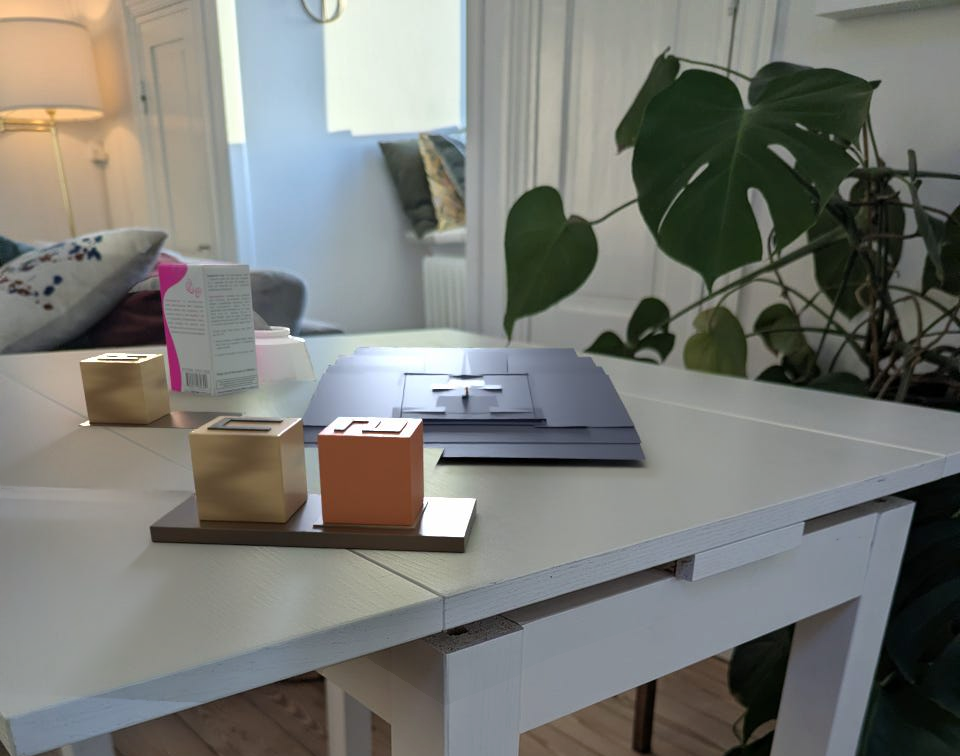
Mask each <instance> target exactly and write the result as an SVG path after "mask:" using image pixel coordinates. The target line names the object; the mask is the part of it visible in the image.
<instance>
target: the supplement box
mask: <svg viewBox="0 0 960 756" xmlns="http://www.w3.org/2000/svg"><path fill="white" fill-rule="evenodd" d="M250 271H251V270H250V264H248V263H247V264H246V263H218V262H217V263H213V262H212V263H211V262H209V263H208V262H206V263H205V262H204V263H203V262H202V263H201V262H200V263H158V264H157V273H158V276H159V283H160V290H159V291H160V298H161V308H162V319H163V326H164V334H165V343H166V353H167V362H168V371H169V380H170V390H171V391H175V392H180V393H181V392H182V393H189V394H196V395H203V396H212V397H218V396H223V395H227V394H228V395H229V394H233V393H238V392H239V393H240V392H243V391H244V392H245V391H250V390H254V389H255V390H256V389H259V388H260V381H258V369H257V356H256V344H255V332H254V319H253V311H254V306H253V297H252V296H253V295H252V286H251V285H252V283H251V273H250Z"/></svg>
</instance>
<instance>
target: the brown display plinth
mask: <svg viewBox="0 0 960 756" xmlns="http://www.w3.org/2000/svg"><path fill="white" fill-rule="evenodd" d="M302 419H303V417H277V416H276V417H271V416H240V417H239V416H219V417H217V418H215V419H214V420H212V421H210V422H208V423H207V424H205V425H203V426H201V427H200V428H198V429H193V430H192V431H191V432H189V433H188V440H189V451H190V457H191V467H192V474H193V483H194V484H193V485H194V493H193V494H191V495H190V496H189V497H188V498H186V499H185V500H183V501H182V502H180V503H179V504H178V505H176V506H175V507H174V508H173V509H171V510H170V511H168V512H167V513H166V514H165V515H163V516H162V517H160V518H159V519H157V521H155V522H153V523H152V524H151V525H149V533H150V540H151V542H166V543H190V544H191V543H192V544H217V545H218V544H219V545H220V544H221V545H246V544H248V545H247V546H249V545H250V546H251V545H252V546H274V547H275V546H276V547H278V546H280V547H304V548H305V547H307V548H309V547H310V548H335V549H337V548H338V549H360V550H361V549H362V550H363V549H364V550H388V551H389V550H393V551H415V552H416V551H417V552H418V551H421V552H444V553H445V552H447V553H448V552H449V553H465V551H466V548H467V544H468V540H469V537H470V534H471V531H472V528H473V526H474V525H473V524H474V521H475V518H476V515H477V502H478V501H477V499H476V498H457V497H456V498H455V497H426V496H424V502H423V504H422V506H421V508H420V510H419V512H418V514H417V516H416V518H415V520H414V522H413V524H412V525H411V526H404V525H374V524H343V523H323V520H322V504H321V493H308V481H307V467H306V466H307V465H306V451H305V448H304V436H303V422H302Z"/></svg>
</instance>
